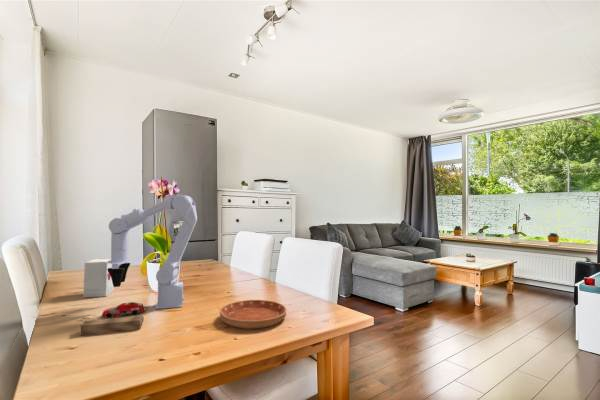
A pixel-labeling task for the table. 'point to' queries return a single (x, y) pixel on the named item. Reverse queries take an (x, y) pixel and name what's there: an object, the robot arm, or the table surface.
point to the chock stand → (111, 325)
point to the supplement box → (97, 278)
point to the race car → (124, 310)
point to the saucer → (253, 313)
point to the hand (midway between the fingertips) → (119, 284)
